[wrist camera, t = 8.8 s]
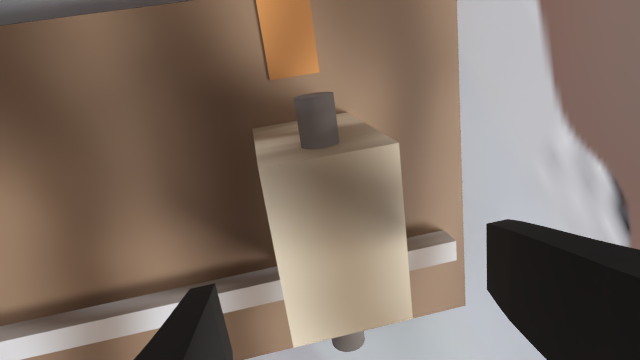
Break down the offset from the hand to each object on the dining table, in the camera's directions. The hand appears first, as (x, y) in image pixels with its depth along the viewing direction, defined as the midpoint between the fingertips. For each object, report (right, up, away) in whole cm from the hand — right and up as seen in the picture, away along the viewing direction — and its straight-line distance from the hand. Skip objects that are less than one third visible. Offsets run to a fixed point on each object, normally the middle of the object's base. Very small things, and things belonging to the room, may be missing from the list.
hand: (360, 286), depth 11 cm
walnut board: (-6, +2, +8) cm, 10 cm away
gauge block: (-1, +2, +7) cm, 8 cm away
